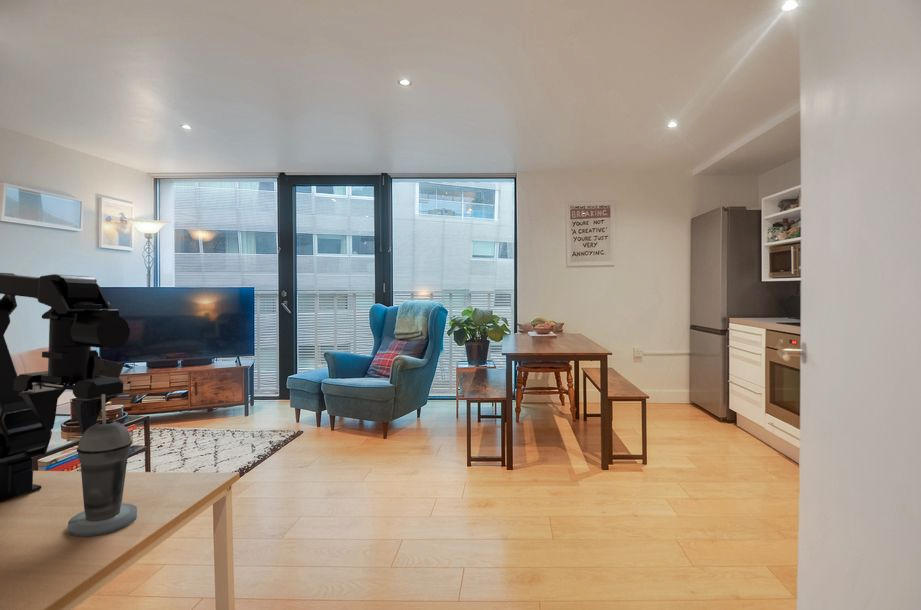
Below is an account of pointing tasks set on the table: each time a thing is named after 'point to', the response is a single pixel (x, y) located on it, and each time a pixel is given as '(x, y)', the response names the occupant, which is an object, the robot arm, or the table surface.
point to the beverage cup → (103, 467)
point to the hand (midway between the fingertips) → (67, 432)
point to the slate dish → (102, 522)
